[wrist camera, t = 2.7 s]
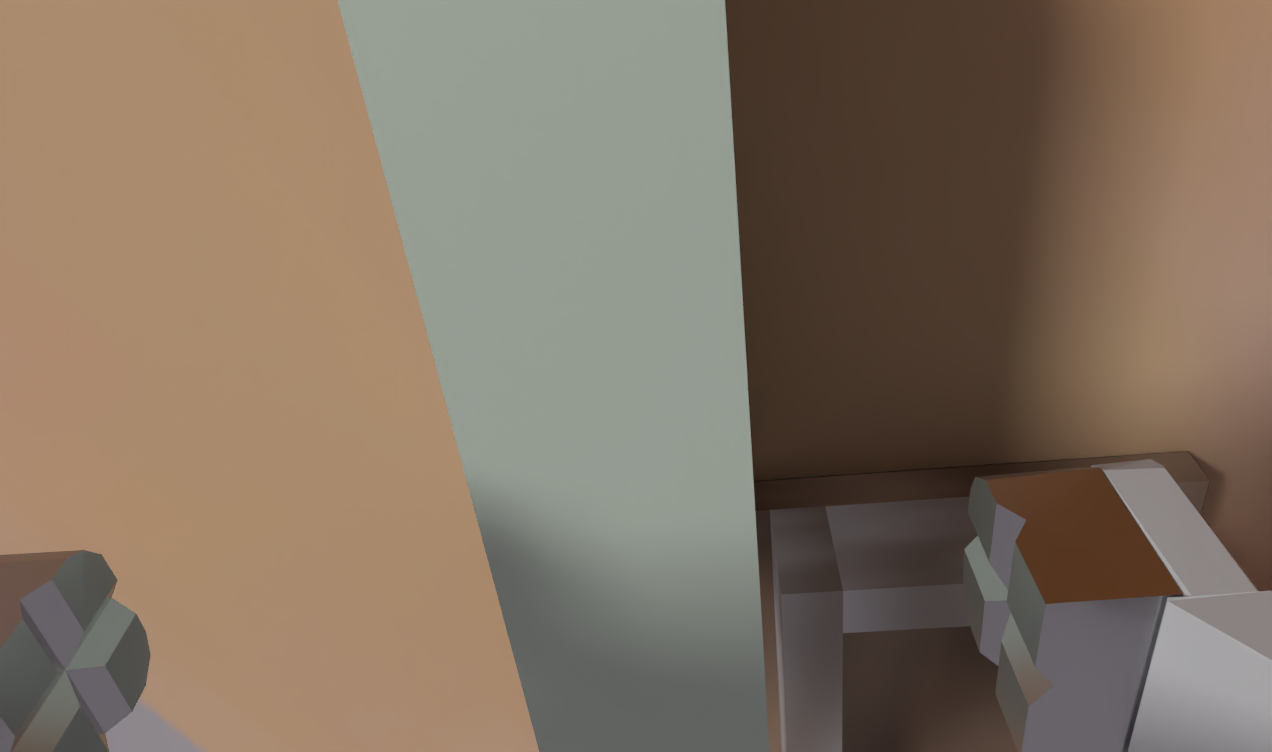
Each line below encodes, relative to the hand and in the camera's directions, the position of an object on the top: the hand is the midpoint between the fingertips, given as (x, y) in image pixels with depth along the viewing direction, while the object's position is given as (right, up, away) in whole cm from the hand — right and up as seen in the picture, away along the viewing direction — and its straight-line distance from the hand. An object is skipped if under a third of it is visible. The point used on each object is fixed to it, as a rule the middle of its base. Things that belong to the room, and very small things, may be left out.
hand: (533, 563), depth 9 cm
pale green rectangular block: (+1, +6, +9) cm, 11 cm away
